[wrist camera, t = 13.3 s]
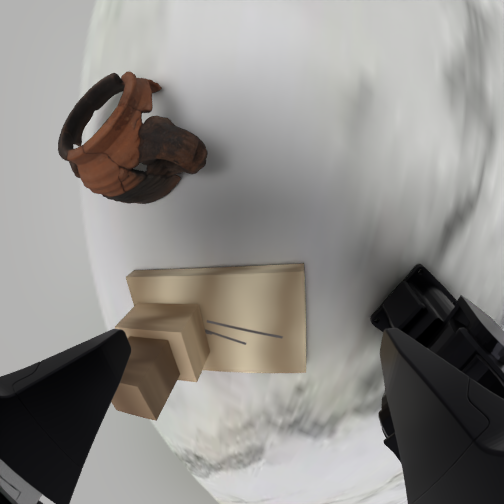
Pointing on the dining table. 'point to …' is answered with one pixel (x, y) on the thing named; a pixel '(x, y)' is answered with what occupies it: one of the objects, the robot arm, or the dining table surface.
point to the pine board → (238, 312)
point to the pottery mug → (128, 144)
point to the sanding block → (159, 355)
